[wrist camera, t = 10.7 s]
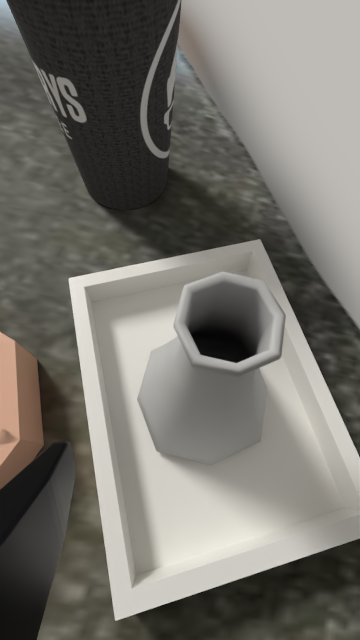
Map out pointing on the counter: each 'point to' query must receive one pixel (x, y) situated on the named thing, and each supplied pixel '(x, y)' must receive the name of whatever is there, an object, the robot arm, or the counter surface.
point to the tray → (194, 477)
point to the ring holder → (18, 409)
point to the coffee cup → (109, 88)
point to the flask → (213, 369)
